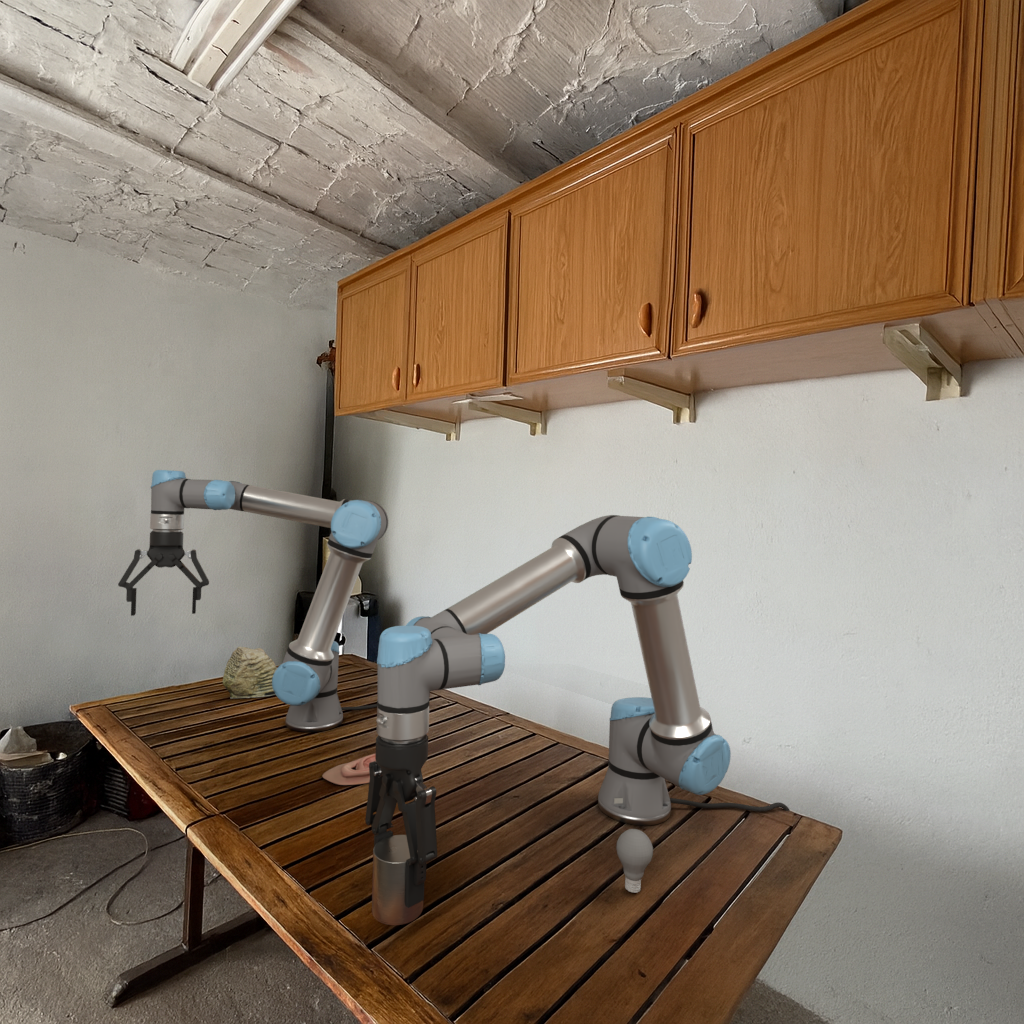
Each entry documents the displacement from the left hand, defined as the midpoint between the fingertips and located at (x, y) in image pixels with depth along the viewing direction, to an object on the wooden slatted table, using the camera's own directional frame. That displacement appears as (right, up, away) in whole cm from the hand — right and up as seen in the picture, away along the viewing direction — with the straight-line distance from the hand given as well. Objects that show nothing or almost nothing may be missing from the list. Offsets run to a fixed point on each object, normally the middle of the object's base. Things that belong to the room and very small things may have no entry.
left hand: (164, 613), depth 162 cm
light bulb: (+109, -37, -56) cm, 128 cm away
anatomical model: (+53, -34, -17) cm, 65 cm away
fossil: (+8, -31, +36) cm, 49 cm away
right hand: (+72, -29, -69) cm, 104 cm away
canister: (+72, -32, -69) cm, 105 cm away
